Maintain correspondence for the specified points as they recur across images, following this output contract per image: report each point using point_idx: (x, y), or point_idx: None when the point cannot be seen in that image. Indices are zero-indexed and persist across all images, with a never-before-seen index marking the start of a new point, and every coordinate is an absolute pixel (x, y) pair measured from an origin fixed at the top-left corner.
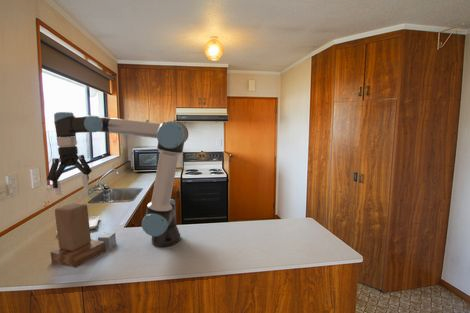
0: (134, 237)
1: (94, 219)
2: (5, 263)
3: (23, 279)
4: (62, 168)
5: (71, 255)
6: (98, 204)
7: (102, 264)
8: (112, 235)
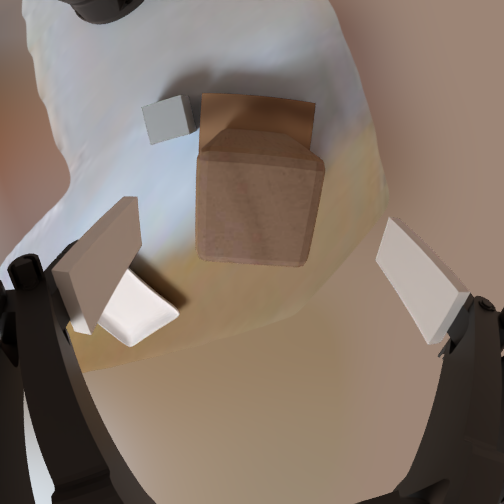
0: (110, 84)
1: None
2: (314, 292)
3: (367, 191)
4: (491, 429)
5: (308, 122)
6: None
7: (276, 46)
8: (159, 101)
